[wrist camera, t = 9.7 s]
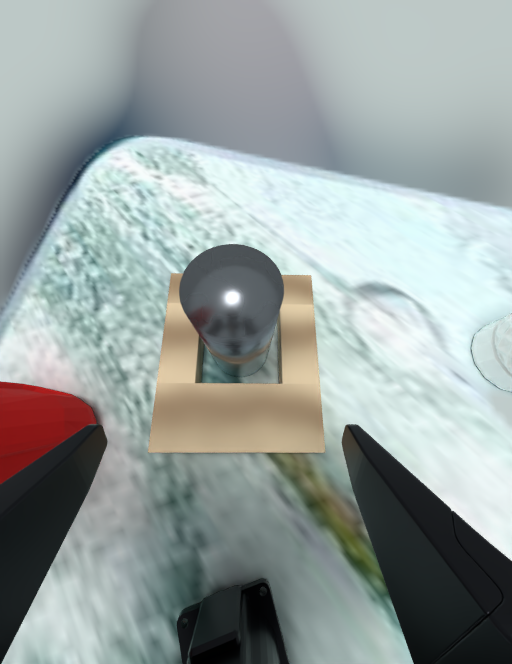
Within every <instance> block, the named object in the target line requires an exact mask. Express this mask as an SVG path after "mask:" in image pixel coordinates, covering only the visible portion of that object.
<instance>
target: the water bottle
mask: <svg viewBox="0 0 512 664" xmlns="http://www.w3.org/2000/svg"><path fill="white" fill-rule="evenodd" d="M96 423H97V422H96V419H95V416H94V413H93V410H92V408H91V407H90V406H89V405H87V404H86V403H84V402H83V401H82V400H80V399H79V398H77V397H75V396H74V395H72V394H68V393H64V392H59V391H55V390H51V389H46V388H42V387H38V386H32V385H26V384H19V383H9V382H0V484H1V483H3V482H4V481H6V480H7V479H9V478H10V477H12V476H13V475H15V474H16V473H18V472H19V471H20V470H22V469H23V468H25V467H26V466H28V465H29V464H31V463H32V462H34V461H35V460H37V459H38V458H40V457H41V456H43V455H44V454H46V453H47V452H48V451H50V450H51V449H53V448H54V447H56V446H57V445H59V444H60V443H62V442H63V441H65V440H66V439H68V438H69V437H71V436H72V435H74V434H75V433H76V432H78V431H79V430H81V429H82V428H84V427H85V426H87V425H89V424H96Z"/></svg>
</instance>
